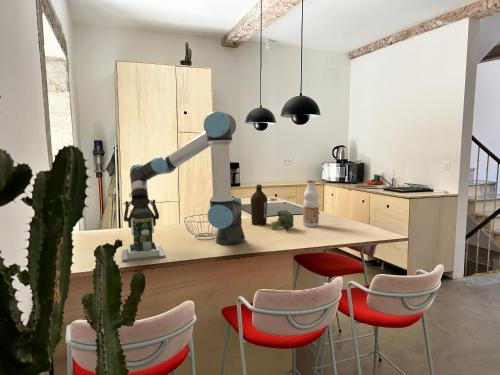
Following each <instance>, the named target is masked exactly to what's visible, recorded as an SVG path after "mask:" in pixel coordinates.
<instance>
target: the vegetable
mask: <svg viewBox="0 0 500 375" xmlns="http://www.w3.org/2000/svg"><path fill="white" fill-rule="evenodd" d="M276 215H277V216H278V218H277V220H274V221H272V222H269V225H270V227H271V229H272V230H274V229H276V228H277V227H281V228H283V229H284V230H285V231H290V229H292V228H293V227H294V221H295V220H294V218H295V217H294V214H293V213H291V212H290V211H289V210H287V209H283V210H281V209H279V210H278V211H277V212H276Z"/></svg>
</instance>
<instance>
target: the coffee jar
mask: <svg viewBox="0 0 500 375" xmlns="http://www.w3.org/2000/svg"><path fill="white" fill-rule="evenodd" d="M132 219H133V235H132V236H133V237H132V238H133V244H134V249H135V250H136V251H148V250H152V249H153V242H154V241H153V233H152V216H151V212H150V211H148V210H146V209H144V208H143V209H136V210H134V211H133V214H132Z"/></svg>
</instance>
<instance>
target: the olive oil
mask: <svg viewBox="0 0 500 375" xmlns="http://www.w3.org/2000/svg"><path fill="white" fill-rule="evenodd" d="M255 188H256V190H255V192H254V193H253V194H252V195H251V197H250V213H251V224H252V225H253V226H265V225H267V217H268V197H267V195H266V194H265V192H264V191H263V188H262V184H256V185H255Z"/></svg>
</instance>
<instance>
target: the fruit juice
mask: <svg viewBox="0 0 500 375" xmlns="http://www.w3.org/2000/svg"><path fill="white" fill-rule="evenodd" d="M306 183H307V185H306V188H305V190H304V192H303V199H304V200H303V205H302V206H303V208H302V224H303V226H304V227H305V228H316V227H318V226H319V220H320V219H319V217H320V215H319V213H320V208H319V206H320V203H319V196H320V195H319V192H318V189H317V187H316V180H314V179H311V180H309V179H308V180H307V181H306Z"/></svg>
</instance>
